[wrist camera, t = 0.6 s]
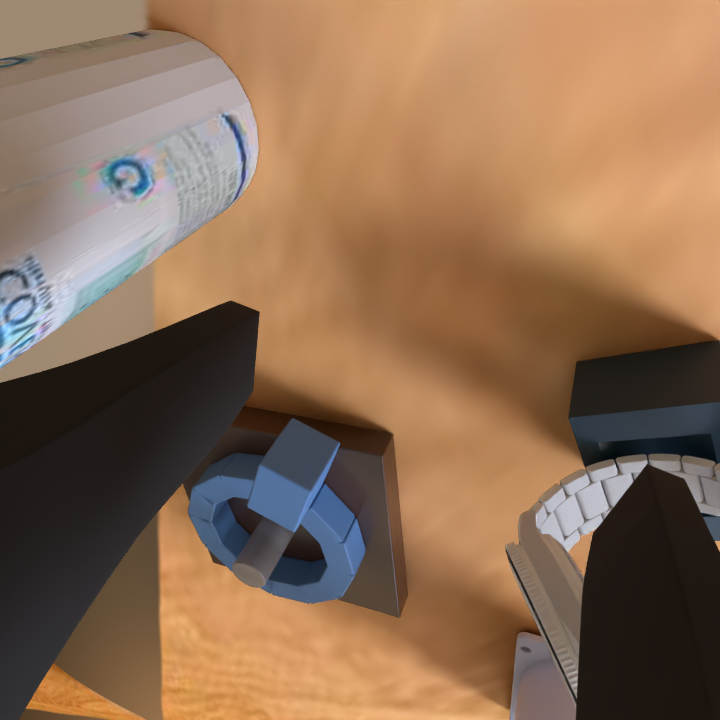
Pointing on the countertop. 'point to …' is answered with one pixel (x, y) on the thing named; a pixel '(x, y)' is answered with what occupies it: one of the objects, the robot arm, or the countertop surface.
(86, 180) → the spray can
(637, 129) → the countertop surface
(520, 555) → the watch
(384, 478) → the platform
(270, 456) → the ring
